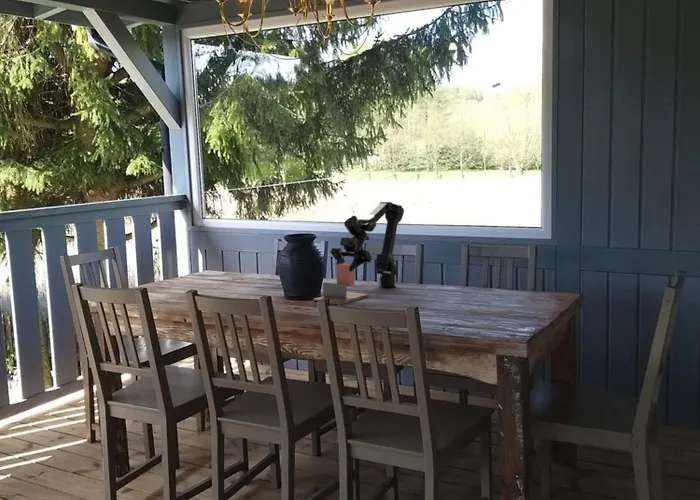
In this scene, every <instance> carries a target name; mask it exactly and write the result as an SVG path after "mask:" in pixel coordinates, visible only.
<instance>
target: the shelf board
mask: <svg viewBox="0 0 700 500" xmlns="http://www.w3.org/2000/svg"><path fill="white" fill-rule="evenodd" d="M346 293H347V299H346V300H343V299H335V298H328V297H324V296H320V297H315V298H312V299H313V300H321V299H330V301H331V303H332V304H331V305H334V304H338V305H337V306H340V305H344V304H349V303H352V302H355V301H359V300H362V299H366V298H368V297H369V296H368V294H367V293H359V292H358V293H357V292H350V291H346Z"/></svg>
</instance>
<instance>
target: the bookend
mask: <svg viewBox="0 0 700 500" xmlns="http://www.w3.org/2000/svg"><path fill="white" fill-rule="evenodd" d="M322 288H323V289H322V290H323V291H322V292H323V294H322V295H323V296H324V297H328V298H335V299H343V300H346V299H347V293H346V292H347V286H346V284H339V283H337V282H330V281H323V282H322Z"/></svg>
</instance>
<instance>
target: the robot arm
mask: <svg viewBox="0 0 700 500" xmlns="http://www.w3.org/2000/svg"><path fill="white" fill-rule="evenodd" d="M404 214H405V208H404V207H403V206H402V205H401V204H397V203H393V202H391V201H383V200H382V201H380V202H379V204H378V205H377V206H376V207H375V208H374V209H373V210H371V212H370V213H369V214H367V215H364V216H362V217H360V218H358V217H357V216H356V215H352V216H351V217H349V218H348V219H346V220H345V221H344V224H343V226H344V227H345V228H346V230H347V231H348V233H349V234H350V235H351V236H352V237H351V238H350V237H341V238H340V243H339V245H340V246H342V247H343V249H344V251H343V250H342V248H341V247H332V248H331V249H330V253H331V255H332V256H333V257H332V258H334V259H335V260H336V265H337V264H341V263H344V264H345V262H346V261H345V257H349V258H353V260H352V262H351V263H350V264H351V266H350V269H349V271H350V272H351V271H352V270H354V271H355V270H356V269H357V268H358V267H360V266H361V265H363V264H366V263H371V261H372V259H373V258H372V257H373V256H372V254H371V253H370V252H369V250H368V249H364V244H365V242H366V241H370V237H369V234H368V233H369V232H373V231H374V230H375V228H376V227H377V223H378V221H380V219H381V218H382V217H385V221H386V227H385V233H384V240H383V242H382V243H383V245H382V250H381V252H380V254H378V253H377V254H376V259H375V265H374V266H375V270H376V273H377V275H379V277H378V286H379V287H380V288H383V289H387V288H388V289H389V288H396V287H397V285H395V283H396V280H395V278H396V277H395V276H396V275H397V274H398V273H399V269H398V267H397V266H396V264H395V257H394V255H393V252H394V247H395V241H396V234H397V230H398V229H397V228H398V224H399V223H400V222H401V221H402V219H403V216H404ZM367 232H368V233H367ZM336 265H335V266H336Z"/></svg>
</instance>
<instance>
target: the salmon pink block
mask: <svg viewBox="0 0 700 500" xmlns="http://www.w3.org/2000/svg"><path fill="white" fill-rule="evenodd" d="M336 264H337V263H336ZM351 264H352V263H345V262H344V263H341V264H337V265H335V270H336V283H339V284H346V287H351V286H355V269H354V270H352V271H351V272H350V271H349V269H350V266H351Z"/></svg>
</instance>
